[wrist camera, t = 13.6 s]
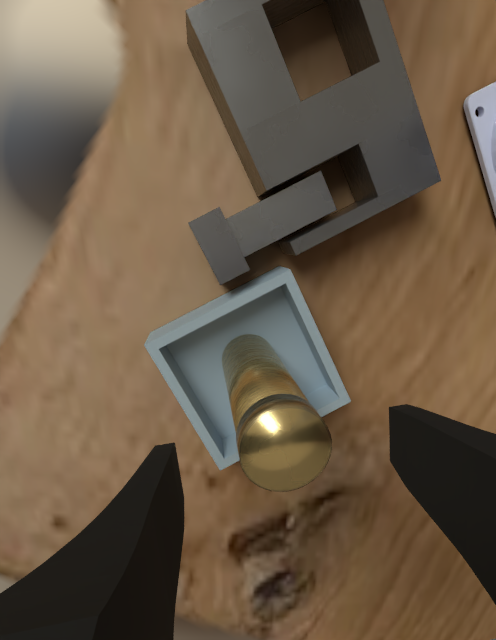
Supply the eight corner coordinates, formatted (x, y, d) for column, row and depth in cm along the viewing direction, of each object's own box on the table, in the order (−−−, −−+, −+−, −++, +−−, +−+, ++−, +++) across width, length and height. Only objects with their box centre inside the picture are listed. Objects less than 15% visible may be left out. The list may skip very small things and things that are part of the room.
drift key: (327, 222, 20) (346, 220, 18) (217, 279, 20) (220, 285, 17) (304, 166, 19) (320, 155, 17) (189, 225, 19) (188, 222, 17)
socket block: (411, 187, 20) (441, 180, 18) (283, 253, 20) (295, 255, 18) (335, -31, 18) (358, -76, 15) (187, 43, 17) (185, 10, 15)
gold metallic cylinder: (280, 338, 21) (342, 414, 12) (268, 389, 21) (318, 496, 12) (227, 328, 20) (250, 400, 11) (215, 380, 21) (230, 487, 12)
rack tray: (334, 383, 22) (351, 401, 20) (217, 445, 22) (220, 470, 20) (279, 265, 20) (290, 269, 18) (150, 332, 20) (144, 345, 18)
